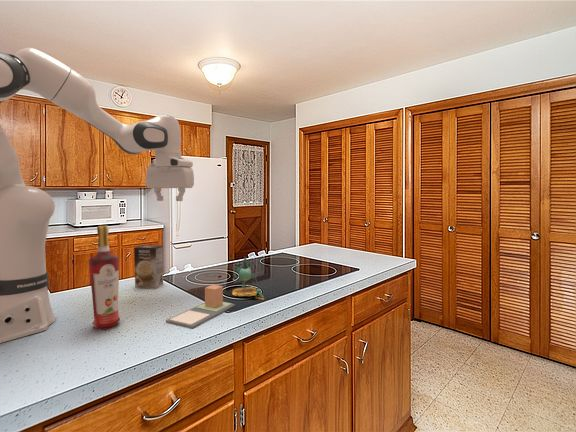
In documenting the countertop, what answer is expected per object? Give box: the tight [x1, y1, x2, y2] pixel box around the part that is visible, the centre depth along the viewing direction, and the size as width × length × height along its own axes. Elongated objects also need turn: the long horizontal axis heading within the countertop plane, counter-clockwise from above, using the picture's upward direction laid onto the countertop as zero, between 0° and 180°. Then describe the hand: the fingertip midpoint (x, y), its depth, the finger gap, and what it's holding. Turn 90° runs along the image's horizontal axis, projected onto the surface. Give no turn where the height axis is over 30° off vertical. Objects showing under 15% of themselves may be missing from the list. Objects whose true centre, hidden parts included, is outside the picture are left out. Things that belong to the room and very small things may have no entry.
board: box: [165, 301, 236, 329], centre depth 101 cm, size 20×10×1 cm, turn 154°
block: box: [204, 284, 224, 308], centre depth 106 cm, size 4×4×6 cm
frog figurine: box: [231, 257, 266, 301], centre depth 120 cm, size 10×18×15 cm, turn 34°
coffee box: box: [133, 244, 164, 290], centre depth 130 cm, size 9×6×16 cm
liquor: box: [88, 225, 121, 330], centre depth 91 cm, size 7×7×28 cm
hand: (169, 201), depth 119 cm, fingers open, 8 cm apart
